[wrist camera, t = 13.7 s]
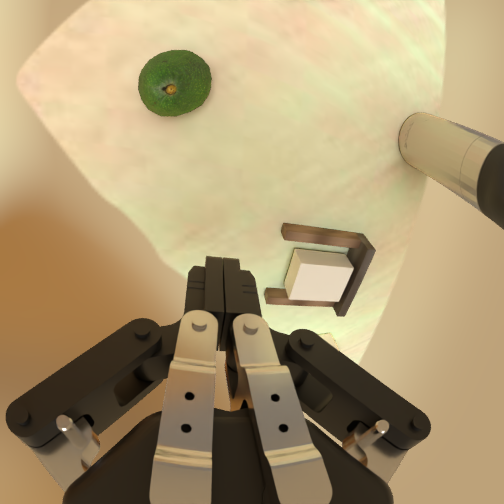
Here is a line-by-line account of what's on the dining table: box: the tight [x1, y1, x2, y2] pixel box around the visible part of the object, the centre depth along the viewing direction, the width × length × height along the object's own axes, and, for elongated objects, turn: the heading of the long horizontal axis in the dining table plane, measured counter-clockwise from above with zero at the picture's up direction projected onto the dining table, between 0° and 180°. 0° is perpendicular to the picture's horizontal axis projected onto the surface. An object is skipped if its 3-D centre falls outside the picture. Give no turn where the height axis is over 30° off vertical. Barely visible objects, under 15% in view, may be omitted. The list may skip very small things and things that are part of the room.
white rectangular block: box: [284, 249, 354, 302], centre depth 46 cm, size 9×7×5 cm
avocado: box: [138, 50, 212, 116], centre depth 26 cm, size 8×8×12 cm
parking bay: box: [264, 223, 376, 316], centre depth 46 cm, size 14×14×5 cm
